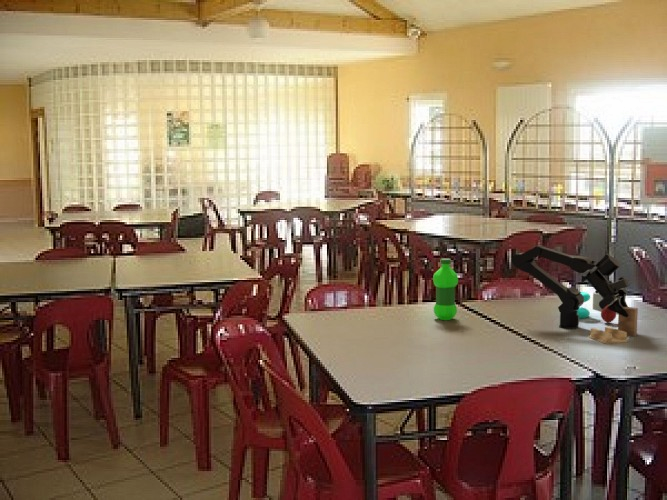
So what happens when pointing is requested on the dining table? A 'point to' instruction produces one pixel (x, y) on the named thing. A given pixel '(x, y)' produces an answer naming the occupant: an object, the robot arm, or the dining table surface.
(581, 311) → the donuts
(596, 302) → the lumpy-topped squat cylinder
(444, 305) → the plastic bottle
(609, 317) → the red rounded piece
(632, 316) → the brown cardboard box
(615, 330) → the oak base
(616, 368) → the dining table surface
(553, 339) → the dining table surface
